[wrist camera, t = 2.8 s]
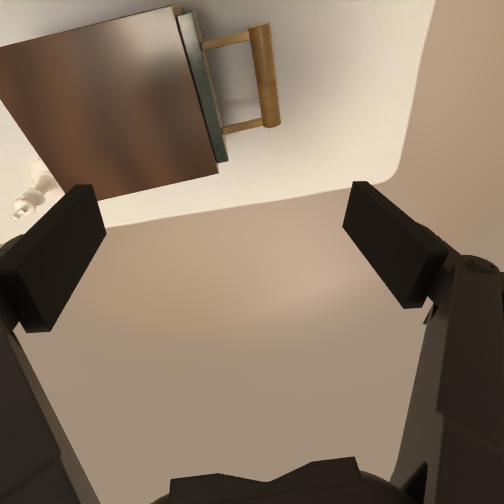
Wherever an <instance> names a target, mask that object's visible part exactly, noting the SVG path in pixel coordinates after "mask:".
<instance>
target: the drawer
mask: <svg viewBox="0 0 504 504" xmlns="http://www.w3.org/2000/svg"><path fill="white" fill-rule="evenodd" d="M176 17H177V21H178V25H179V28H180V32H181V35H182V39H183V43H184V46H185V50H186V53H187V57H188V61H189V64H190V68H191V72H192V75H193V79H194V82H195V86H196V90H197V93H198V97H199V101H200V104H201V108H202V111H203V115H204V119H205V122H206V126H207V129H208V133H209V137H210V140H211V144H212V148H213V151H214V155H215V158H216V162H217V163H222V162H226V161H228V153H227V146H226V139H225V134H229V133H233V132H237V131H242V130H246V129H250V128H255V127H259V126H264V127H265V128H272V127H276V126H278V125H280V124H281V117H280V108H279V100H278V91H277V82H276V73H275V64H274V55H273V46H272V37H271V29H270V23H262V24H258V25H254V26H251V27H249V28H248V30H249V31H244V32H240V33H235V34H231V35H227V36H223V37H219V38H215V39H210V40H206V41H203V40H202V36H201V32H200V28H199V24H198V19H197V15H196V11H192V12H188V13H184V14H180V15H177V16H176ZM246 40H250V43H251V49H252V56H253V62H254V69H255V76H256V82H257V89H258V95H259V102H260V108H261V115H262V118H258V119H254V120H250V121H245V122H241V123H237V124H232V125H228V126H224V127H223V123H222V119H221V115H220V111H219V107H218V103H217V99H216V94H215V90H214V86H213V82H212V78H211V74H210V69H209V65H208V61H207V57H206V53H205V50H209V49H213V48H217V47H221V46H226V45H230V44H234V43H238V42H242V41H246Z"/></svg>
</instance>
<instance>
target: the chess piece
mask: <svg viewBox="0 0 504 504" xmlns="http://www.w3.org/2000/svg"><path fill="white" fill-rule="evenodd" d="M30 176H31V178H32V180H33V182H34V183H35V184H36V186H35V188H34V189H33V188H28V189H25V190H24V192H23V197H24V198H20V199H17V200H15V201H14V203H13V207H14V209H15V210H16V211H17V212H16V213H14V214H13V215H12V216H11V218H12V219H13V220H15V221H16V220H17V219H18V218H19V217H20V216H21V215H25V216H30V215H33V214H34V213H35V210H36V205H41V204H43V203H44V202H45V197H44V194H45V193H47V192H48V193H51V194H57V195H60V194H65V193H64V191H63V190H62V188H61V187H60V186H59V184H58V183H57V181H56V180H55V178H54V177H53V175H52V174H51V172H50V171H49V169H48V168H47V167H46V165H45V164H44V162H43V161H42V159H41V158H38V159H36V160H35V161H34V162H33V163H32V165H31V167H30Z"/></svg>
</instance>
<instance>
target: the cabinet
mask: <svg viewBox="0 0 504 504" xmlns="http://www.w3.org/2000/svg"><path fill="white" fill-rule="evenodd" d="M180 14H184V12H183V8H182V6H174V5H170V6H166V7H162V8H157V9H153V10H149V11H145V12H141V13H137V14H133V15H129V16H125V17H121V18H117V19H113V20H109V21H104V22H100V23H96V24H92V25H88V26H84V27H80V28H76V29H72V30H68V31H64V32H60V33H56V34H51V35H47V36H43V37H39V38H35V39H31V40H27V41H23V42H19V43H15V44H11V45H7V46H3V47H0V100H1V101H2V102H3V104H4V105H5V107H6V108H7V110H8V111H9V113H10V114H11V116H12V117H13V118H14V120H15V121H16V123H17V124H18V126H19V127H20V129H21V130H22V132H23V133H24V134H25V136H26V137H27V139H28V140H29V142H30V143H31V145H32V146H33V148H34V149H35V151H36V152H37V153H38V155H39V156H40V158H41V159H42V161H43V162H44V164H45V165H46V167H47V168H48V169H49V171H50V172H51V174H52V175H53V177H54V178H55V180H56V181H57V183H58V184H59V186H60V187H61V188H62V190H63V191H64V193H65V194H66V193H67V192H68V191H69V190H70V189H71V188H72V187H73V186H74V185H78V184H92V185H93V189H94V192H95V195H96V199H97V201H99V200H104V199H108V198H113V197H117V196H121V195H126V194H130V193H135V192H139V191H143V190H148V189H152V188H156V187H161V186H165V185H170V184H174V183H178V182H183V181H187V180H192V179H196V178H200V177H205V176H209V175H214V174H218V173H219V171H218V163H217V162H216V158H215V155H214V151H213V148H212V144H211V140H210V137H209V133H208V129H207V126H206V122H205V119H204V115H203V111H202V108H201V104H200V101H199V97H198V93H197V90H196V86H195V82H194V79H193V75H192V72H191V68H190V64H189V61H188V57H187V53H186V50H185V46H184V43H183V39H182V35H181V32H180V28H179V25H178V21H177V17H176V16H177V15H180Z"/></svg>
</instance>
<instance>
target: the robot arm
mask: <svg viewBox="0 0 504 504" xmlns="http://www.w3.org/2000/svg"><path fill="white" fill-rule="evenodd" d="M342 227H343V228H344V230H345V231H346V232H347V234H348V235H349V236H350V238H351V239H352V240H353V242H354V243H355V244H356V246H357V247H358V248H359V250H360V251H361V252H362V254H363V255H364V256H365V258H366V259H367V260H368V262H369V263H370V264H371V266H372V267H373V268H374V269H375V271H376V272H377V274H378V275H379V276H380V278H381V279H382V280H383V282H384V283H385V284H386V286H387V287H388V288H389V290H390V291H391V293H392V294H393V295H394V296H395V298H396V299H397V300H398V302H399V303H400V305H401V306H402V307H403V308H404V309H410V308H422V306H423V304H424V302H425V300H426V298H427V296H428V297H429V298H430V299H431V300H432V301H433V305H432V307H431V309H430V311H429V313H428V315H427V317H426V318H425V320H424V323H423V324H425V325H426V324H427V326H426V330H425V335H424V340H423V344H422V349H421V353H420V358H419V363H418V367H417V372H416V377H415V381H414V386H413V390H412V395H411V400H410V404H409V409H408V414H407V418H406V423H405V427H404V432H403V436H402V441H401V446H400V450H399V455H398V460H397V463H396V466H395V469H394V472H393V474H392V476H391V479H390V481H389V482H388V481H386V480H384V479H382V478H380V477H378V476H376V475H373V474H370V473H367V472H364V471H360V470H359V468H358V466H357V462H356V460H355V457H346V458H338V459H331V460H322V461H315V462H310V463H308V464H306V465H304V466H302V467H300V468H298V469H296V470H293V471H292V472H289V473H287V474H285V475H283V476H281V477H279V478H277V479H275V480H273V481H270V482H261V481H256V480H251V479H245V478H240V477H235V476H230V475H224V474H219V473H216V474H208V475H200V476H192V477H184V478H176V479H171V481H170V492H169V494H167V495H165V496H163V497H161V498H159V499H157V500H156V501H154V502H153V503H151V504H504V272H500V271H499V269H498V267H496V266H495V265H494V264H493V263H491V262H489V261H487V260H485V259H483V258H480V257H477V256H472V255H461V254H459V253H458V252H457V251H456V250H454V249H453V248H452V247H451V246H450V245H448V244H447V243H446V242H445V241H442V239H441V238H440V237H439V236H437V235H435V233H434V232H432V231H431V230H430V229H429V228H427V227H425V226H423V225H421V224H419V223H417V222H415V221H414V220H412V219H411V218H410V217H409V216H408V215H407V214H405V213H404V212H403V211H402V210H401V209H399V208H398V207H397V206H396V205H395V204H393V203H392V202H391V201H390V200H389V199H387V198H386V197H385V196H384V195H383V194H381V193H380V192H379V191H378V190H377V189H375V188H374V187H373V186H372V185H371V184H369V183H368V182H367V181H353V184H352V188H351V192H350V196H349V201H348V205H347V209H346V213H345V218H344V222H343V226H342ZM105 236H106V230H105V227H104V223H103V220H102V216H101V213H100V209H99V206H98V202H97V199H96V195H95V192H94V189H93V185H92V184H78V185H74V186H73V187H72V188H71V189H70V190H69V191H68V192H67V193H66V194H65V195H64V196H63V197H62V198H61V199H60V200H59V201H58V202H57V203H56V204H55V205H54V206H53V207H52V208H51V209H50V210H49V211H48V212H47V213H46V214H45V215H44V216H43V217H42V218H41V219H40V220H39V221H38V222H37V223H36V224H34V225H33V226H32V227H31V228H30V229H29V230H28V231H27V232H26V233H25V234H23V235H19V236H17V237H15V238H13V239H11V240H10V241H8V242H6V243H5V244H4V245H3V246H2V247H1V248H0V504H100V502H99V500H98V498H97V496H96V494H95V492H94V490H93V488H92V486H91V484H90V482H89V480H88V478H87V476H86V474H85V472H84V470H83V468H82V466H81V464H80V462H79V460H78V458H77V456H76V454H75V452H74V450H73V448H72V446H71V444H70V442H69V440H68V439H67V436H66V434H65V432H64V430H63V428H62V426H61V424H60V422H59V420H58V418H57V416H56V414H55V412H54V410H53V409H52V406H51V404H50V402H49V401H48V399H47V396H46V394H45V392H44V390H43V389H42V387H41V385H40V383H39V381H38V378H37V377H36V374H35V373H34V371H33V369H32V366H31V364H30V362H29V361H28V359H27V357H26V355H25V353H24V351H23V349H22V347H21V345H20V343H19V341H18V339H17V337H16V335H15V334H14V332H13V329H14V328H15V327H16V325H17V323H18V322H20V323H21V325H22V326H23V328H24V330H25V331H26V333H36V332H50V331H51V330H52V328H53V326H54V324H55V323H56V321H57V319H58V317H59V315H60V314H61V312H62V310H63V309H64V307H65V305H66V303H67V302H68V300H69V298H70V297H71V295H72V293H73V291H74V289H75V288H76V286H77V284H78V283H79V281H80V279H81V277H82V276H83V274H84V272H85V270H86V269H87V267H88V265H89V263H90V261H91V260H92V258H93V257H94V254H95V253H96V251H97V249H98V248H99V246H100V244H101V243H102V241H103V239H104V237H105Z"/></svg>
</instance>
